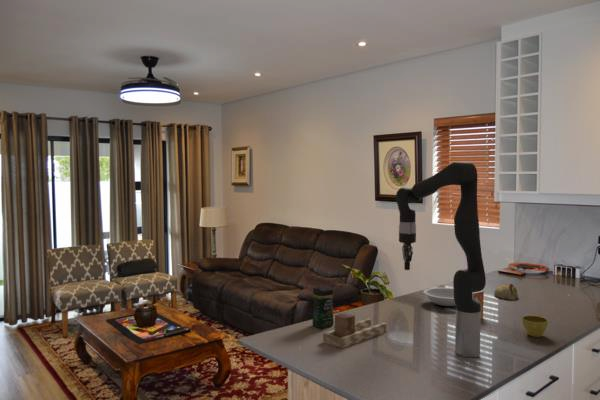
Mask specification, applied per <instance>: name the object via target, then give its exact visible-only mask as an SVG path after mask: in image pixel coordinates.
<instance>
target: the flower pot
mask: <svg viewBox="0 0 600 400" xmlns="http://www.w3.org/2000/svg"><path fill="white" fill-rule="evenodd" d="M521 319H522V324H523V326H524V327H523V328H524V329H525V332H526V333H527V335H528V336H530V337H534V338H540V337H542V336H543V335H544V333H545V332H546V329H547V326H548V322H549V320H548V319H547V318H545V317H543V316H542V317H541V316H536V315H524V316H522V317H521Z"/></svg>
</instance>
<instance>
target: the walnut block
mask: <svg viewBox="0 0 600 400" xmlns="http://www.w3.org/2000/svg"><path fill="white" fill-rule="evenodd" d="M355 323H356V315H354V314H352V313H347V312H341V313H338V314H335V315H334V330H335V336H337V337H340V338H341V337H344V336H347V335H350V334H352V333H355Z"/></svg>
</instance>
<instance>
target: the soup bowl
mask: <svg viewBox="0 0 600 400" xmlns="http://www.w3.org/2000/svg"><path fill="white" fill-rule="evenodd" d="M423 294H424V295H426V296H427V298H428V299H429V301H431V302H432V304H433V303H434V305H439V306H442V307H456V304H455V301H454V288H451V287H429V288H426V289H424V290H423Z"/></svg>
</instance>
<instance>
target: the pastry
mask: <svg viewBox="0 0 600 400" xmlns="http://www.w3.org/2000/svg"><path fill="white" fill-rule="evenodd" d="M494 297H497V298H500V299H502V300H509V301H515V300H517V298H518V297H519V294H518V290H517V287H515V286H514V284H512V283H510V284H508V283H507V284H503V285H500V286H498V287H496V288H495V291H494Z"/></svg>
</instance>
